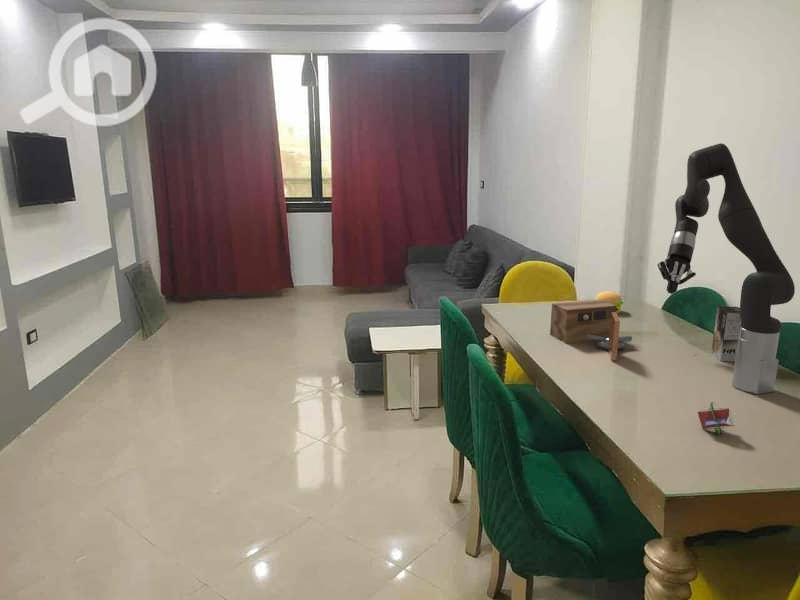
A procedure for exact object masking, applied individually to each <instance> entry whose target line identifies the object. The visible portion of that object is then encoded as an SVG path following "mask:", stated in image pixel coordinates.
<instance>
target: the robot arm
mask: <svg viewBox="0 0 800 600" xmlns="http://www.w3.org/2000/svg"><path fill="white" fill-rule="evenodd" d="M687 158H688V159H687V164H686V167H687V168H686V188H685V191H684V194H682V195H680V196H679V197H677V199H676V200H675V204H674V207H675V209H674V210H675V216H676V217H675V219H676V220H675V221H676V222H675V227H674V231H673V235H672V238H671V241H670V245H669V247H668V252H667V256H666V259H665V260H664V261H663V260H661V261H660V262H658V263H657V268H658V270H659V272H660V274H661V276H662V279H663V280H666V281H667V285H666V291H667V294H670V295H673V294H675V293H677V291H678V287H679V285H682V284H684V283H686V282H687V281H689V280H690V279H692V278H694V277H696V275H697V274H696V272H693V271H692V270H691V268H692V267H691V261H692V259H693V254H694V250H695V246H696V240H697V239H696V238H697V234H698V230H699V223H698V221H697V220H695V219H694V218H702V217H705V215H707V213H708V211H709V207H710V202H709V198H708V196H709V194H710V192H711V184H710V183H709V179H713V178H715V177H719V176H722V177H723V180H724V184H725V185H724V191H723V196H722V199H721V202H720V206H719V209H718V214H717V215H718V216H717V217H718V218H717V219H718V222H719V224H720V226H721V228H722V231H723V232H724V235H725V237H726V239H727V240H728V241H729V243H730V244H732V246H734V247H735V248H736V249H737V250H738V251H739V252H740V253H742V254H743V255H744V256H745V257H746V258H747V259H748V261H750V262H751V263H752V265H753V266H754V269H755V270H756V272H751V273H750V274H748V275H747V276H746V277H745V278H744V279H743V282H742V285H741V286H742V287H741V291H740V301H739V308H740V311H739V314H740V319H741V327H740V333H739V340H738V346H737V353H736V360H735V362H734V367H733V374H732V375H733V376H732V382H731V385H732V386H733V387H734V388H737V389H739V390H741V391H743V392H748V393H752V394H755V395H760V394H767V393H774V391H775V384H776V379H777V374H778V370H779V369H778V368H779V358H777V352H778V346H779V339H780V334H781V329H782V328H781V327H782V322H781V321H780V320H779V319H778V318H776V317H773V316H772V315H771V309H772V306H777V305H784V304H787V303H790V301H792V299H793V298H794V296H795V290H796V289H795V283H794V280H793V278H792V276H791V274H790V272H789V271H788V269H787V268H786V266H785V264H784V263H783V261H782V260H781V258H780V257H779V255H778V253H777V252H776V250H775V248H774V246H773V244H772V243H771V240H770V238H769V236H768V234H767V232H766V231H765V230H766V229H765V228H764V226H763V224H762V221H761V219H760V217H759V214H758V212H757V210H756V209H755V207H754V204H753V203H752V201H751V199H750V197H749V195H748V193H747V191H746V189H745V187H744V185H743V182H742V179H741V176H740V174H739V171H738V168H737V166H736V164H735V163H736V162H735V160H734V157H733V155H732V152H731V151H730V148H729V147H728V146H727V145H726V144H725V143H723V142H722V143H716V144H713V145H710V146H707V147H703V148H700V149H697V150H695V151H693V152H691V153H690V154H689V156H688V157H687ZM684 274H685V277H683V275H684ZM682 277H683V278H682Z"/></svg>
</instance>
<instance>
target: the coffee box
mask: <svg viewBox="0 0 800 600" xmlns="http://www.w3.org/2000/svg"><path fill="white" fill-rule="evenodd" d="M739 311H740V306H720V305H719V306H717V307H716V315H715V321H714V322H715V323H714V330H713V338H712V346H711V353H712V355H714V356H715V357H716V358H717V359H718V360H719V361H721V362H733V363H735V360H736V353H737V346H738V340H739V333H740V327H741V319H740V314H739Z"/></svg>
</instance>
